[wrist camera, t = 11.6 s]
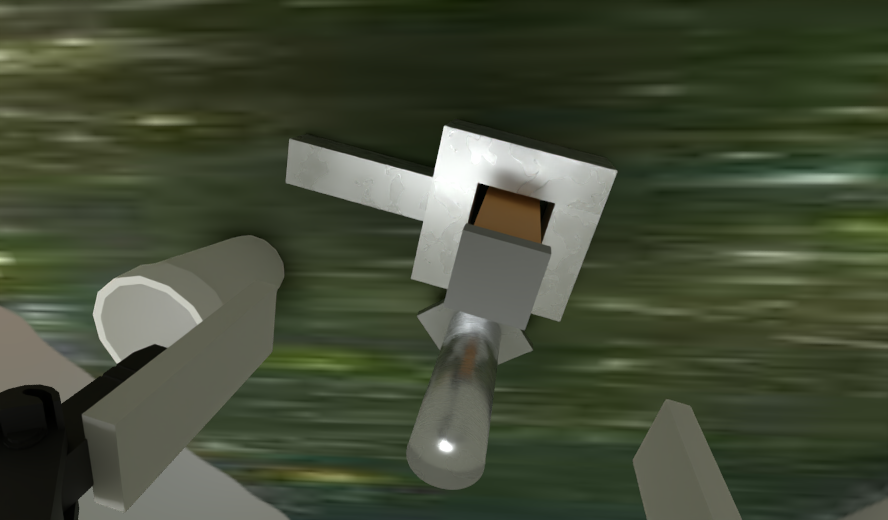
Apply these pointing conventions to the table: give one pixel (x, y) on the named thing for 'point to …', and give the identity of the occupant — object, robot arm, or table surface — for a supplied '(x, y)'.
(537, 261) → the wedge pin
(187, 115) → the table surface
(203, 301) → the foam cup
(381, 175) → the grey angular stepped piece
